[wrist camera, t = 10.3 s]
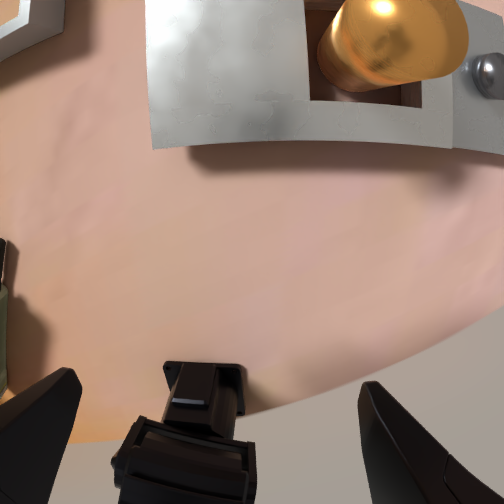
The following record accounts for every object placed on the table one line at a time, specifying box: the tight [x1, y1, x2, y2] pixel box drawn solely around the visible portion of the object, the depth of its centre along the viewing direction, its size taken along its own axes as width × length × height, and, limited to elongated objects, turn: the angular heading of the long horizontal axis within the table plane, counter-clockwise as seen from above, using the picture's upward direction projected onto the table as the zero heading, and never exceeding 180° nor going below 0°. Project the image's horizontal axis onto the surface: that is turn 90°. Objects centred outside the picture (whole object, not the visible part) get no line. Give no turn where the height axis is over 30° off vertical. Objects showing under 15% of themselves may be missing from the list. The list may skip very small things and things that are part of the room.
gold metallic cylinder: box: [317, 0, 469, 92], centre depth 11 cm, size 4×4×9 cm
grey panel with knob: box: [146, 0, 504, 155], centre depth 14 cm, size 10×22×3 cm, turn 93°
